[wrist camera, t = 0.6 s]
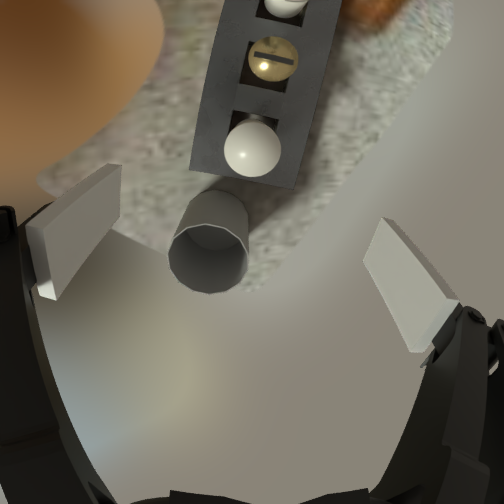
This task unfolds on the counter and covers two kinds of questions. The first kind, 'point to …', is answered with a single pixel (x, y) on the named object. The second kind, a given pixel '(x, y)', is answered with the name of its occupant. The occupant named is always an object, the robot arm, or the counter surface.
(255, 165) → the knob
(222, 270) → the cup
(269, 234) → the counter surface
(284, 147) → the panel
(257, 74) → the brass slotted knob
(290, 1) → the knob
